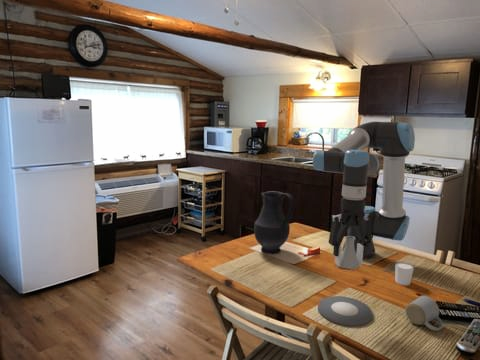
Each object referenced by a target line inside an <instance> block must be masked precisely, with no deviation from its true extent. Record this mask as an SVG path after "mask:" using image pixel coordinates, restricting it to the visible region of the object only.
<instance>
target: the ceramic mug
mask: <svg viewBox="0 0 480 360" xmlns="http://www.w3.org/2000/svg"><path fill="white" fill-rule="evenodd" d="M405 314H406V317H407V319H408V320H409V321H410V322H411V323H412V324H414V325H416V326H417V325H418V326H422V325H425V326H426V328H428V329H430V330H431V331H434V332H439V331H441V330H442V329H443V327H444V324H443V321H442V319H441V318H440V316H439V314H440V308H439V305H438V304H437V302H436V301H435V300H434V299H433V298H431V297H429V296H426V295H421V296H419V297H418V298H416V299H415V300H412V301H411V302H410V303H408V304H407V305H406V307H405ZM434 320H435V321H436V322H437V323H438V326H439V327H435V326H433V325H432V324H431V323H430V322H432V321H434Z"/></svg>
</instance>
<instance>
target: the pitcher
mask: <svg viewBox="0 0 480 360" xmlns="http://www.w3.org/2000/svg"><path fill="white" fill-rule="evenodd" d="M260 195H261V198H262V203H263V205H262V207H261V210H260V213H259V215H258V217H257V219H256V220H255V221H254V227H253V231H254V232H253V233H254V238H255V239H256V242H257V243H258V245H260V247H261V248H260V251H261V252H262V253H264V254H267V255H268V254H269V255H276V254H279V253H281V251H282V250H281V247H282V246H283V245H284V244H285V243H286V242H287V240H288V238H289V236H290V228H291V227H290V223H289V222H290V220H291V218H292V215H293V213H294V211H295V207H296V206H295V205H296V204H295V203H296V202H295V198H294V197H293V195H292V194H290V193H287V192H281V191H277V190H275V191H274V190H272V191H271V190H270V191H266V192H265V191H264V192H260ZM286 197H287V198H288V199H289V209H288V212H287V213H286V215H284V211H283V206H282V205H283V202H284V199H285V198H286Z"/></svg>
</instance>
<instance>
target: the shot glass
mask: <svg viewBox="0 0 480 360" xmlns="http://www.w3.org/2000/svg"><path fill="white" fill-rule="evenodd" d="M394 267H395V269H394V270H395V273H394V275H395V276H394V277H395V278H394V279H395V283H397V284H398V285H401V286H410V285H411V282H412V278H413V273H414V266H413V265H411V264H408V263H405V262H404V263H403V262H397V263H395V265H394Z"/></svg>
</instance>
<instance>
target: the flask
mask: <svg viewBox="0 0 480 360" xmlns="http://www.w3.org/2000/svg"><path fill="white" fill-rule="evenodd" d="M344 238H345V241H346V244H345V248H344V250H343V249H342V255H341V266H340V267H339V268H342V269H346V270H358V269H359V268H360V264H359V262H358V259H357V256H356V252H355V247H354V240H355V237H353V236H347V235H345V236H344Z"/></svg>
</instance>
